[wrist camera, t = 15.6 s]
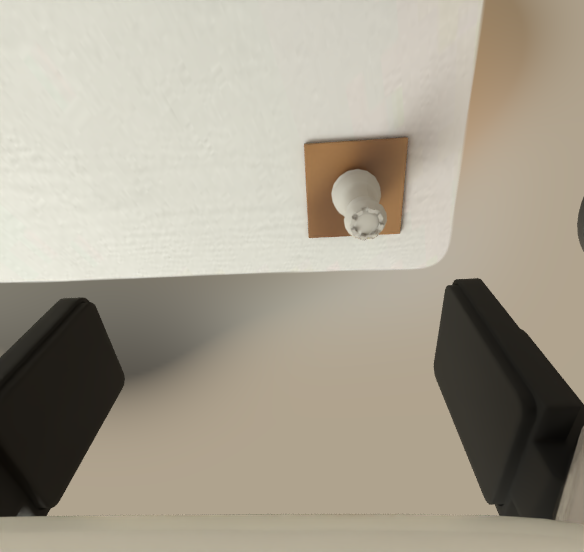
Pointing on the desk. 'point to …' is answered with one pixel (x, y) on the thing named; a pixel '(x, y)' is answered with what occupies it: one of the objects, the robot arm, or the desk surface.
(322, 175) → the coaster
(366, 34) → the desk surface
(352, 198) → the rook chess piece
